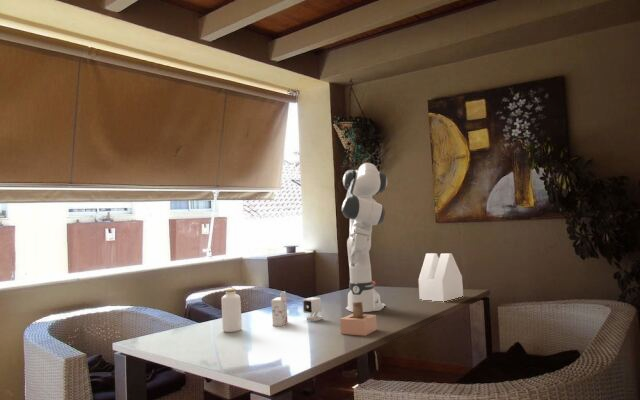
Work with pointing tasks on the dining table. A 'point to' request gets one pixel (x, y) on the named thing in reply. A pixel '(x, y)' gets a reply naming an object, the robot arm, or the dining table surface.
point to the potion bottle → (231, 311)
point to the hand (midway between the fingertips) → (353, 264)
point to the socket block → (358, 325)
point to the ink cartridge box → (279, 310)
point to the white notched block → (440, 278)
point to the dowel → (357, 310)
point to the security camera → (312, 308)
